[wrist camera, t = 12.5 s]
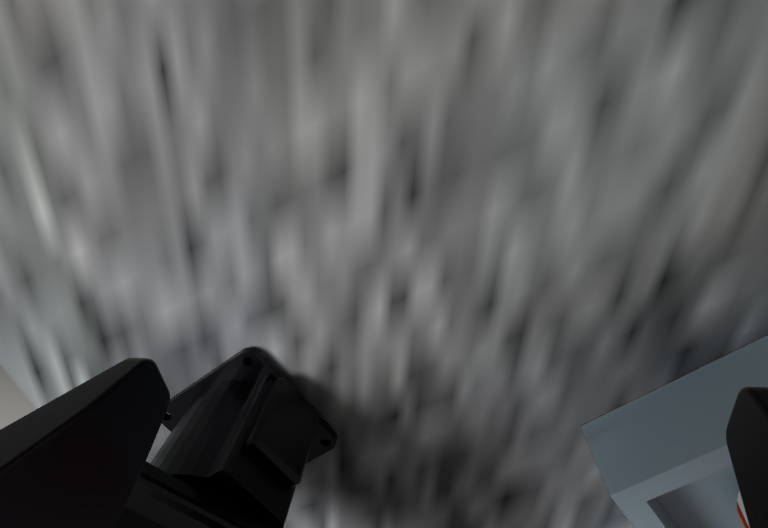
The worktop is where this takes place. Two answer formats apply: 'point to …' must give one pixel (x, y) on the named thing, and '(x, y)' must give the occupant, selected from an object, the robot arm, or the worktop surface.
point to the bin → (678, 446)
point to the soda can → (742, 511)
